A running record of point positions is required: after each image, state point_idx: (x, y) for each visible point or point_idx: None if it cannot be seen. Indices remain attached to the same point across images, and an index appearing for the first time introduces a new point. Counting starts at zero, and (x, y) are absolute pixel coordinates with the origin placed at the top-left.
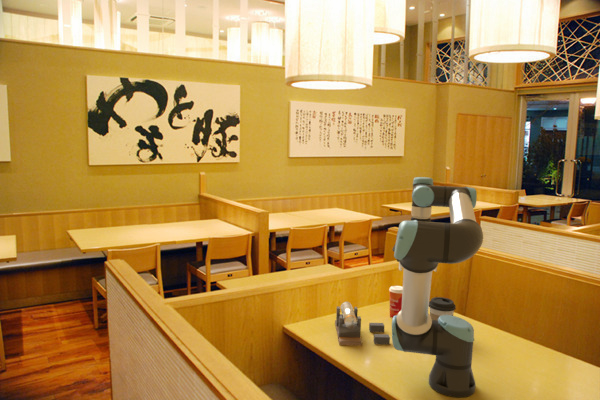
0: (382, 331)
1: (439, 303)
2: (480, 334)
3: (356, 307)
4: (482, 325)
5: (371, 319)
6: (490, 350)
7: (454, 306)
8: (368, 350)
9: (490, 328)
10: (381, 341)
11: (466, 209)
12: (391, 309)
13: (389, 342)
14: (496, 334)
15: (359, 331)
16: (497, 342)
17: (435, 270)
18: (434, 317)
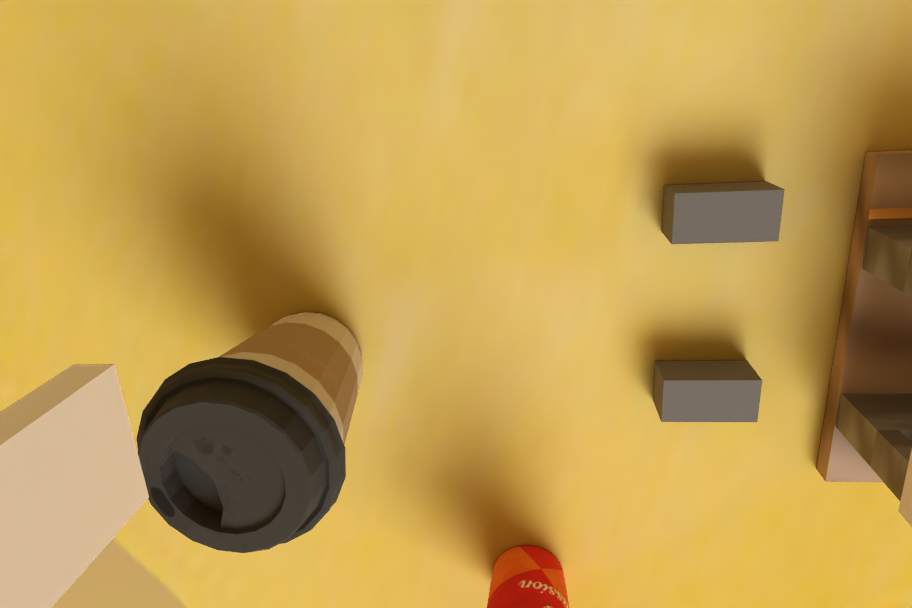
0: (666, 362)
1: (254, 419)
2: None
3: None
4: None
5: (688, 533)
6: (59, 159)
7: (145, 418)
8: (839, 76)
9: None
10: (725, 186)
11: None
12: (563, 597)
13: (668, 187)
14: (5, 373)
15: (900, 238)
16: (10, 271)
17: (83, 377)
18: (325, 373)
